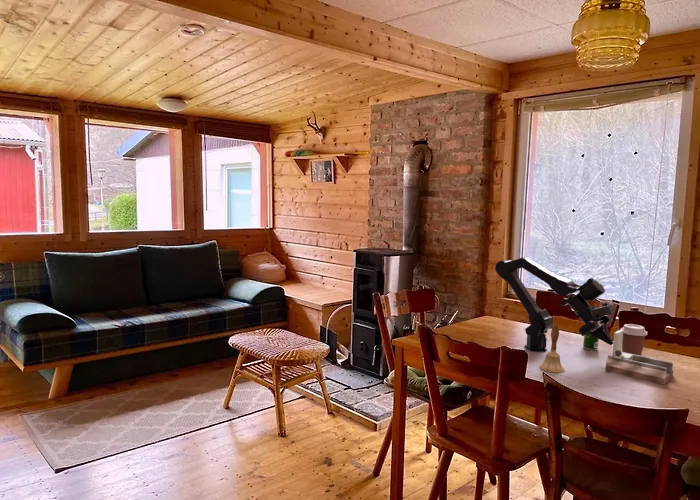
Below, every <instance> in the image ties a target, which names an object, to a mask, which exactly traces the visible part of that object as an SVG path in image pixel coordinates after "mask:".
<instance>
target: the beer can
mask: <svg viewBox="0 0 700 500" xmlns="http://www.w3.org/2000/svg"><path fill="white" fill-rule="evenodd" d="M591 332H592V331H589V332H588V333H586V335H584V336H583V344H582V345H583V346H582V347H583V348H584V349H585V350H587V351H598V349H599V340H600V339H598V338H596V337H594V336H592V335H589V334H590V333H591Z"/></svg>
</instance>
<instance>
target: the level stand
mask: <svg viewBox="0 0 700 500" xmlns="http://www.w3.org/2000/svg"><path fill="white" fill-rule="evenodd" d="M621 352H622V351H621ZM622 353H625V352H622ZM627 354H630V353H627ZM632 355H633V360H629V359H624V358H621V359H619V358H614V356H612V355H610V354H608V355H607V358H606V359H605V367H604V369H605V371H606V372H611V373H613V374H618V375H622V376H627V377H631V378H635V379H639V380H643V381H647V382H652V383H656V384H660V385H665V384H666V383H667V382H668V381H669V380H670V379H671V378H673V376H674V370H673V369H674V362H671V361H667V360H662V359H658V358H653V357H649V356H645V355H641V356H640V355H635V354H632Z"/></svg>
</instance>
